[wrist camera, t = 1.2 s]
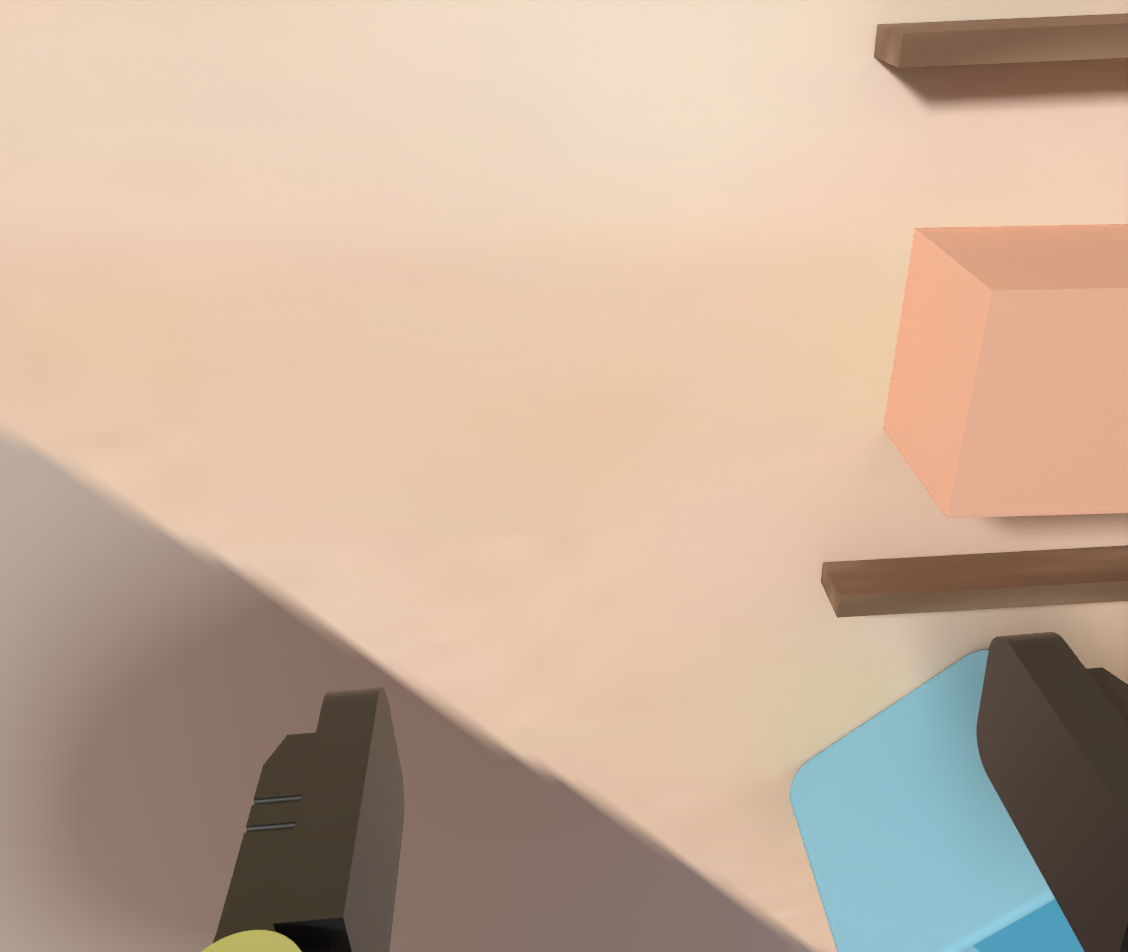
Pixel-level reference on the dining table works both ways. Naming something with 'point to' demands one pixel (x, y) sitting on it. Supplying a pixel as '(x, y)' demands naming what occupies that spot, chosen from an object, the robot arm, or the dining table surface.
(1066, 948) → the data package
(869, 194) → the dining table surface
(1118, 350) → the terracotta block
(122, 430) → the dining table surface
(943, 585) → the lane rails
